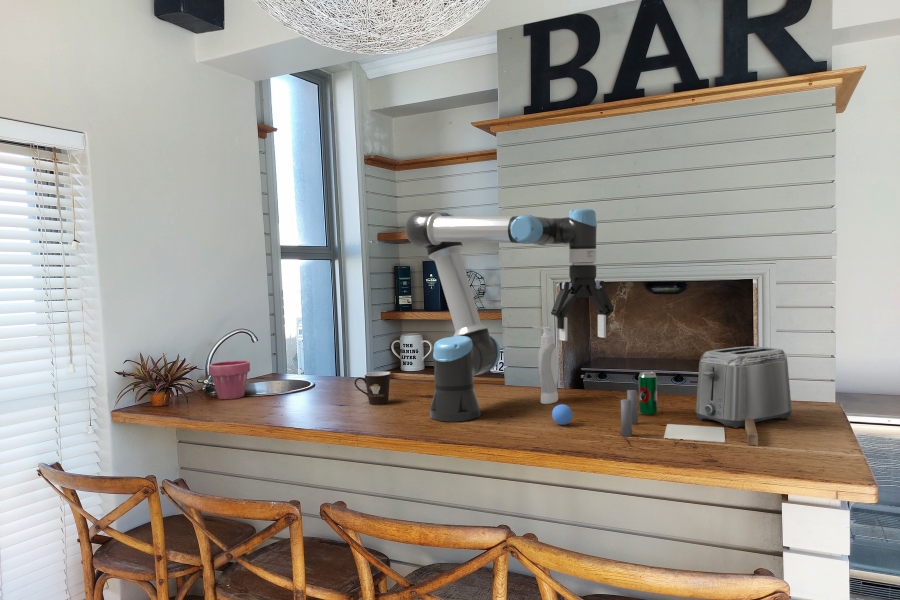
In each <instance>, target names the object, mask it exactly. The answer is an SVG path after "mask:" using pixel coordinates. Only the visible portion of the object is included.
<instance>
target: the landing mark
mask: <svg viewBox="0 0 900 600" xmlns="http://www.w3.org/2000/svg"><path fill="white" fill-rule="evenodd" d="M725 435H726V434H725V427H723V426H706V425H705V426H704V425H702V426H701V425H690V424H689V425H688V424H687V425H686V424H673V423H667V424H666V428H665V432H664V435H663V439H665V438H668V439H670V440H680V439H683V440H682V441H684V440H685V441H694V440H695V442H696V441H697V442H700V441H701V442H710V443H723V444H724V443H726V438H725V437H726V436H725Z"/></svg>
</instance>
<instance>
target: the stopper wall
mask: <svg viewBox="0 0 900 600" xmlns="http://www.w3.org/2000/svg"><path fill="white" fill-rule="evenodd" d="M755 423H756V422H755ZM755 423H754V419H745V427H744V430H746V431H745V435H747V436H746V440H747V445H748V446H750V445H756V446H755V447H758V446H759V435H758V431H757V427H756V424H755Z"/></svg>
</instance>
